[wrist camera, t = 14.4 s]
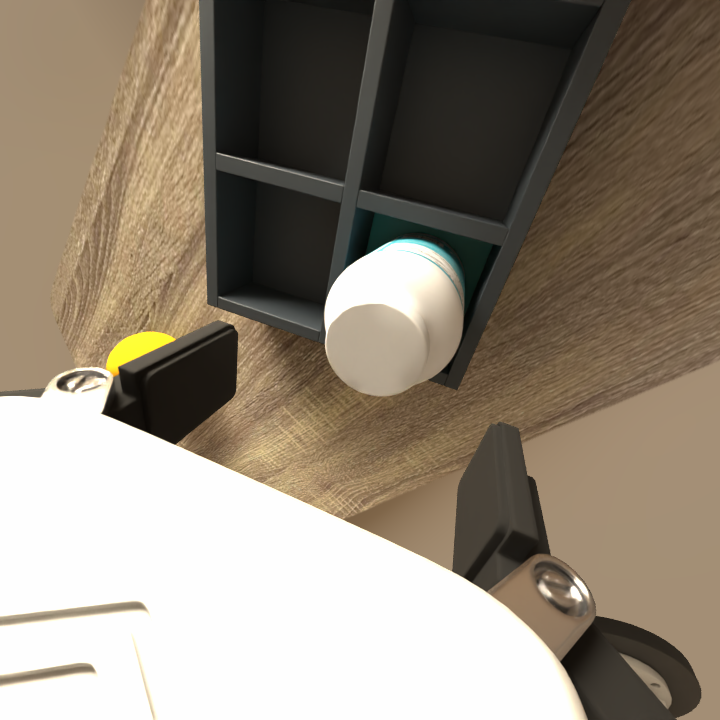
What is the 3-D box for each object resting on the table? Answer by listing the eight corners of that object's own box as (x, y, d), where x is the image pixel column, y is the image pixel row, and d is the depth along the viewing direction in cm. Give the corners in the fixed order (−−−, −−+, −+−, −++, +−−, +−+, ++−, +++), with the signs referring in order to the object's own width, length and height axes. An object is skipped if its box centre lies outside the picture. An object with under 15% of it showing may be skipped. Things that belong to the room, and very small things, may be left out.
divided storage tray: (595, 35, 18) (642, -24, 13) (460, 355, 29) (457, 390, 24) (261, -18, 22) (196, -83, 17) (249, 286, 32) (207, 304, 27)
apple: (216, 374, 39) (165, 410, 32) (175, 390, 42) (122, 426, 36) (175, 313, 37) (112, 339, 30) (136, 336, 40) (72, 363, 34)
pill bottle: (389, 335, 29) (333, 431, 17) (357, 252, 26) (267, 300, 15) (478, 310, 26) (480, 408, 14) (450, 214, 23) (427, 237, 12)
